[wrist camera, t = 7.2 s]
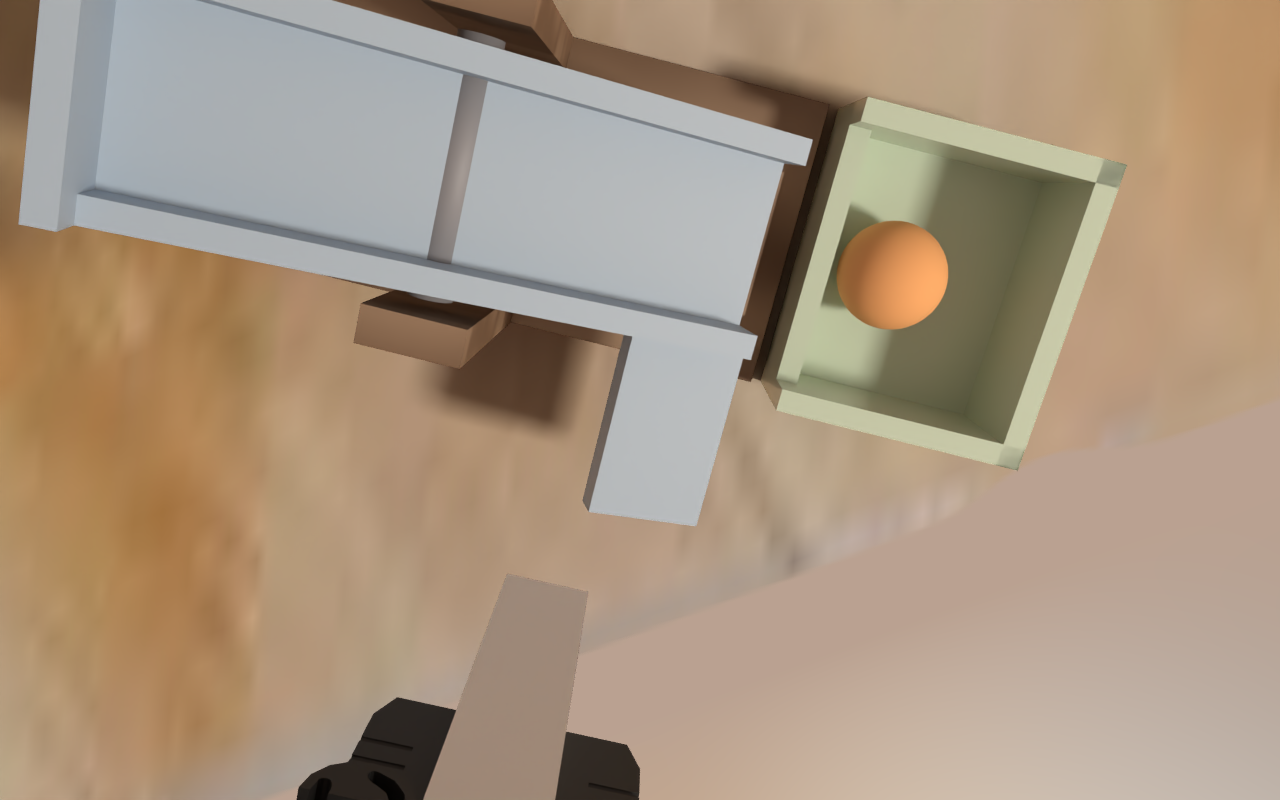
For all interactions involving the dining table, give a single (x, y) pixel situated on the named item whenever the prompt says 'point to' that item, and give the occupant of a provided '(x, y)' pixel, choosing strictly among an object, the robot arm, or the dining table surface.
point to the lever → (426, 189)
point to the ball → (892, 275)
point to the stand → (532, 26)
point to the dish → (976, 289)
